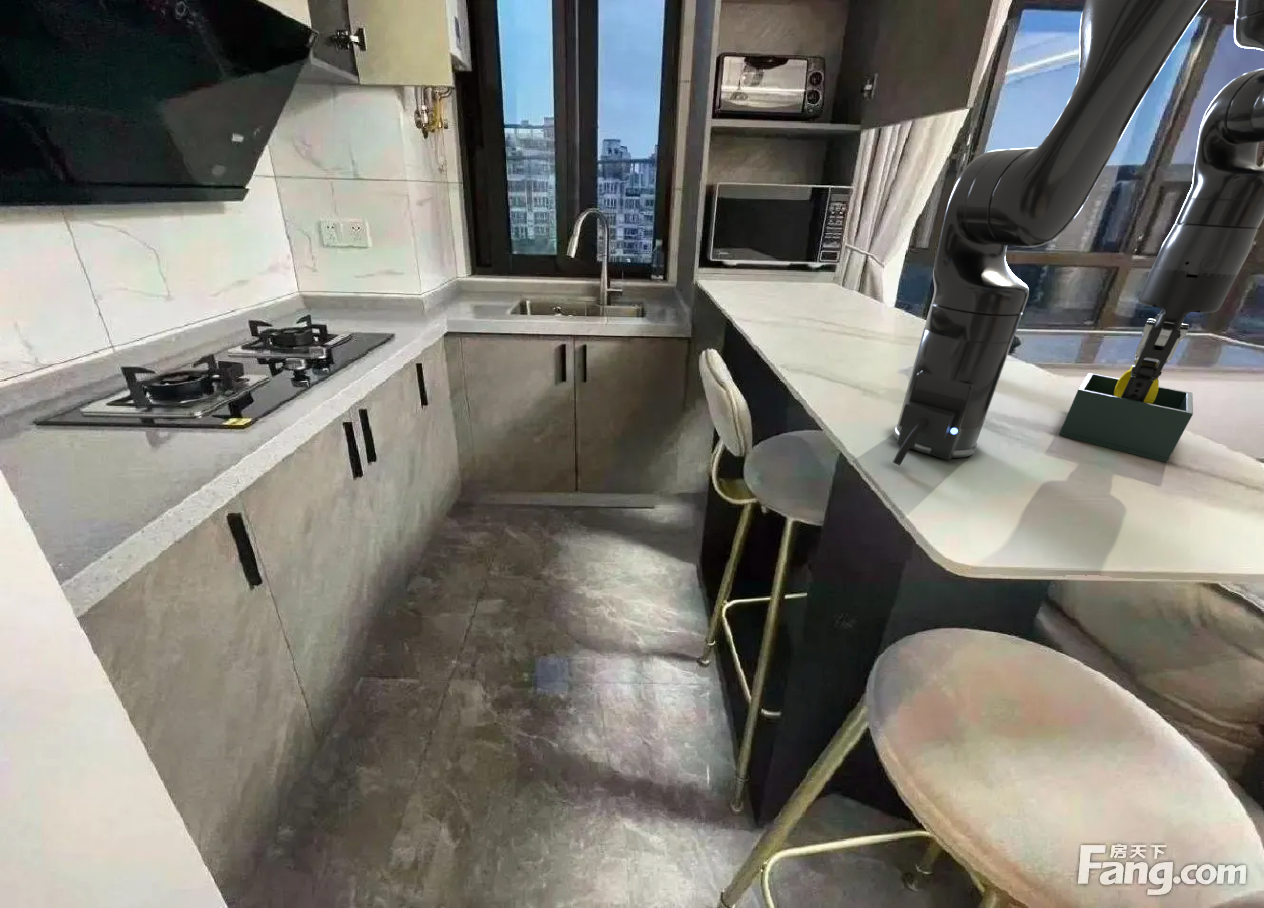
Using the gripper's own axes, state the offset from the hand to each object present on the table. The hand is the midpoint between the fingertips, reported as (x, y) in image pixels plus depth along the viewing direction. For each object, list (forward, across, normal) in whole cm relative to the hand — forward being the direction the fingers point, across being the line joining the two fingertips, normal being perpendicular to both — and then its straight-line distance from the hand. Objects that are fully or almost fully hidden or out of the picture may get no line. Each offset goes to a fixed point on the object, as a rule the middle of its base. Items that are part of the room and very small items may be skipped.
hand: (1131, 399), depth 72 cm
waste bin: (+5, 0, 0) cm, 5 cm away
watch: (+2, 0, 0) cm, 2 cm away
